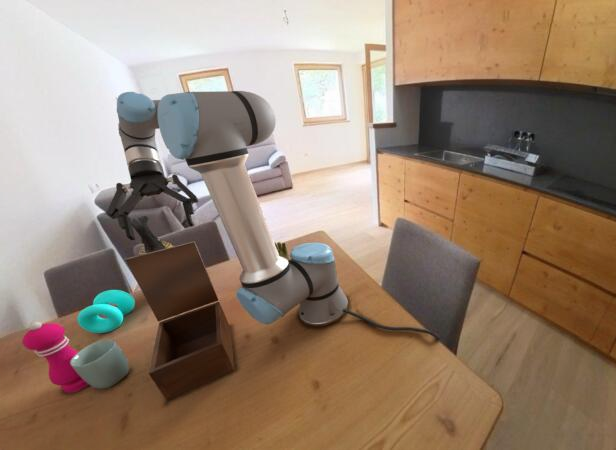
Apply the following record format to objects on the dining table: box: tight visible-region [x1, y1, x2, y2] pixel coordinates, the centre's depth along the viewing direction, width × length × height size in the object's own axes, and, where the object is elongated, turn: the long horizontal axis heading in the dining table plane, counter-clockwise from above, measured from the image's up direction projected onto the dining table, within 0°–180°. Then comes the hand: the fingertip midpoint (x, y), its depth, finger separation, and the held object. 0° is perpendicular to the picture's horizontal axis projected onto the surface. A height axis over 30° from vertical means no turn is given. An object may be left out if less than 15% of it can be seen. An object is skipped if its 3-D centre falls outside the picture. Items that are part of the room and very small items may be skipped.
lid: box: [125, 240, 219, 322], centre depth 73 cm, size 19×14×1 cm
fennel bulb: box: [274, 241, 291, 261], centre depth 109 cm, size 6×5×12 cm
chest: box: [148, 301, 235, 402], centre depth 72 cm, size 18×14×10 cm
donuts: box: [77, 289, 136, 334], centre depth 86 cm, size 10×10×10 cm
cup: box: [70, 338, 130, 390], centre depth 68 cm, size 8×8×10 cm
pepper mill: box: [21, 321, 90, 394], centre depth 66 cm, size 7×7×20 cm
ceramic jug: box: [131, 215, 175, 255], centre depth 96 cm, size 17×15×30 cm
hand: (162, 231), depth 76 cm, fingers open, 12 cm apart
